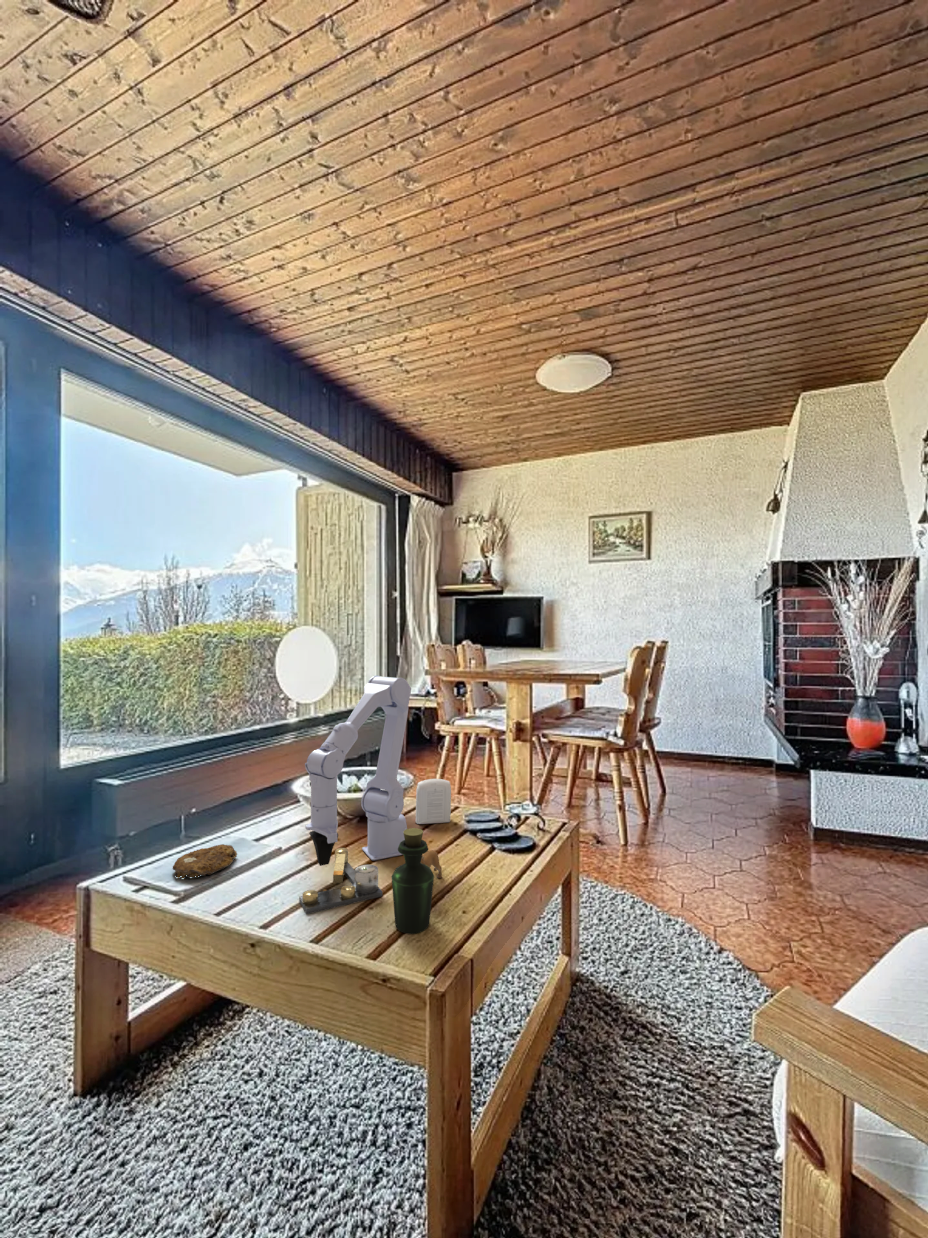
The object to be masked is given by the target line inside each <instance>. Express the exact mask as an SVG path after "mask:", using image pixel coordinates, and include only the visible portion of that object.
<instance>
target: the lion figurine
mask: <svg viewBox="0 0 928 1238" xmlns="http://www.w3.org/2000/svg"><path fill="white" fill-rule="evenodd" d="M439 858H440V857H439V855H438V853H437V851H435V850H434V849H429V850H428V851H427V852H426V853H424V854H423V855H422V859H421V862H420V863H422V864H425V865H427V866H428V867H430V868H431V867H432V866H433V871H434V872H437V871H438V873H437V875H436V878H437V879H441V878H442V877H443V874H442V873H443V872H442V866H441V865H440V859H439Z"/></svg>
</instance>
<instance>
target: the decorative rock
mask: <svg viewBox="0 0 928 1238" xmlns="http://www.w3.org/2000/svg"><path fill="white" fill-rule="evenodd" d="M237 855H238V853H237V850H235V848H234V847H233V846H232V845H230V844H229V845H228V844H217V845H214V846H209V847H205V848H199V849H196V850H193V851H190V852H187V853H185V854H183V855H182V856H179V857H178V858H177V859H176V860H175V862H174V864H173V866H172V870H173V871H175V872H174V877H175V876H176V877H180V876H182V877H181V878H184V877H186V875H187V877H186V878H190V877H195V876H196V877H198V876H200V875H202V876H204V877H206V875H207V874H208V876H212V874H214V873H217V872H218V871H221V870H224V869H225V868H226V867H229V866H230V865H231V864H232V863H233V862H234V860H235V858H238V856H237ZM233 859H234V860H233ZM200 877H201V876H200ZM181 878H180V879H181Z"/></svg>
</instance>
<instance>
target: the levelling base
mask: <svg viewBox="0 0 928 1238" xmlns="http://www.w3.org/2000/svg"><path fill="white" fill-rule="evenodd" d="M344 876H345V878H346V879H347V880H348V881H349V883H350V884H349V885H344V886H340V887H335V888H332V889H331V888H329V889H323V890H321V891H317V890H315V889H309V890H306V891H304V892H303V893H302V895H300V896H298V902H299V904H300V906H301V907H302V909H303V911H304V913H305V914H306V915H308V914H313V913H316V912H323V911H326V910H330V909H335V908H338V907H342V906H343V907H344V906H346V905H351V904H355V903H359V902H364V901H368V900H373V899H377V898H382V897H383V890H382V889H381V888H380V886H379V867H378V866H377V865H374V864H362V865H359V866H357V867H355V869H354V868H353V866H352V865H351V864H350V862H349V861H348V862H345V868H344Z"/></svg>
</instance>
